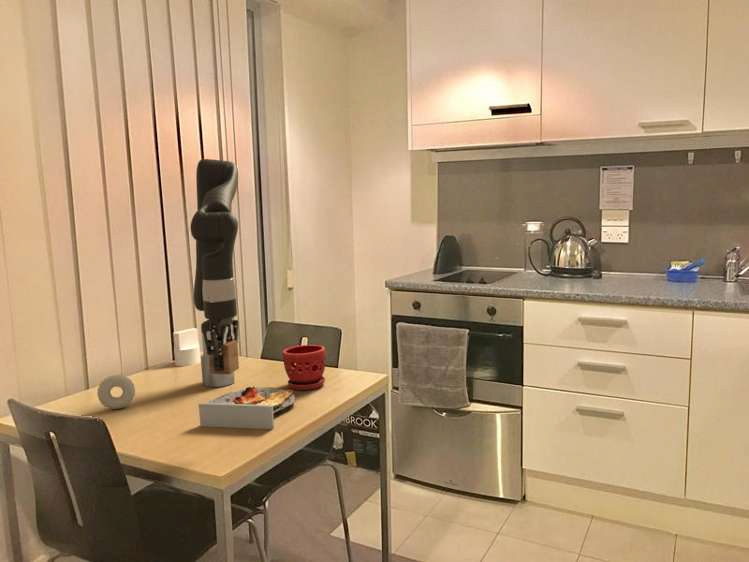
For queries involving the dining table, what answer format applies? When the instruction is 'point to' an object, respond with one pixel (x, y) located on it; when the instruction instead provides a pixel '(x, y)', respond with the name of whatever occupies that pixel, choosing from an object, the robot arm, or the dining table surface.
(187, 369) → the dining table surface
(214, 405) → the grey divider panel
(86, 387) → the dining table surface
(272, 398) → the food plate
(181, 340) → the base with upright slab
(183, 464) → the dining table surface
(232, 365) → the walnut block
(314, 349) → the plant pot
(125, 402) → the donut
